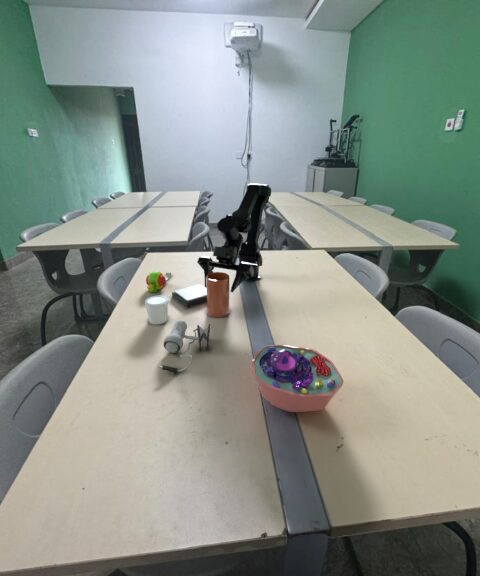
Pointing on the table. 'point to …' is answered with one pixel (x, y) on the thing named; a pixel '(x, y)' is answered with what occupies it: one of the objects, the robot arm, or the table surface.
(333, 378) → the cell model
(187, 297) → the scale
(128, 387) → the table surface
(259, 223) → the robot arm
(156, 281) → the toy measuring tape
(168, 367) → the clip-on lamp
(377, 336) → the table surface
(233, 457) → the table surface
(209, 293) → the cup
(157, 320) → the white cylinder
